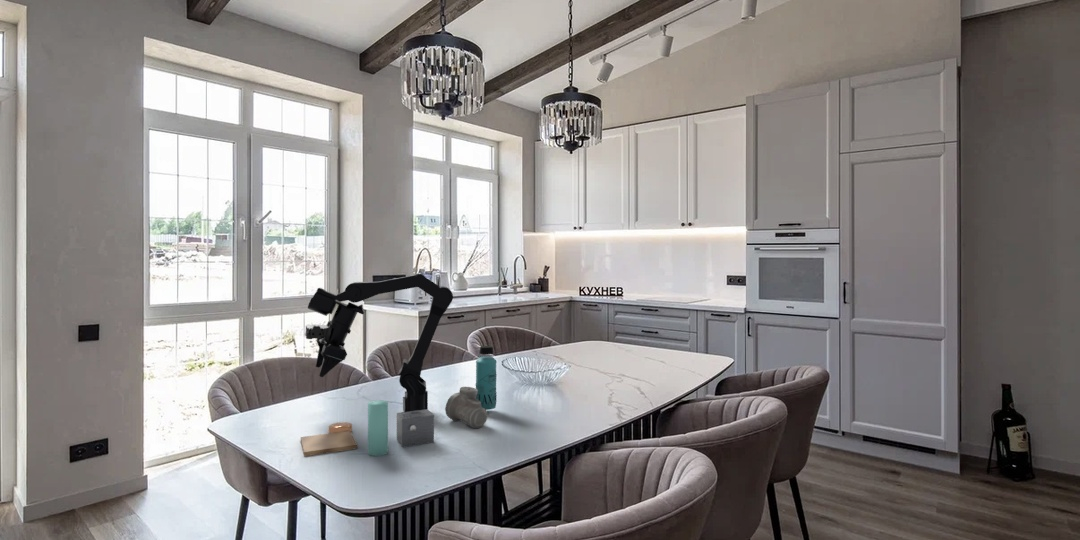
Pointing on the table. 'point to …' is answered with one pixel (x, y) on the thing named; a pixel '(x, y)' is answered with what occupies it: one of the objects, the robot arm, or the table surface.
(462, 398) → the pipe fitting
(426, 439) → the box
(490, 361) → the beverage bottle
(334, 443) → the board
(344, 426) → the copper dome
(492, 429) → the table surface
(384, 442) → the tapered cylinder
